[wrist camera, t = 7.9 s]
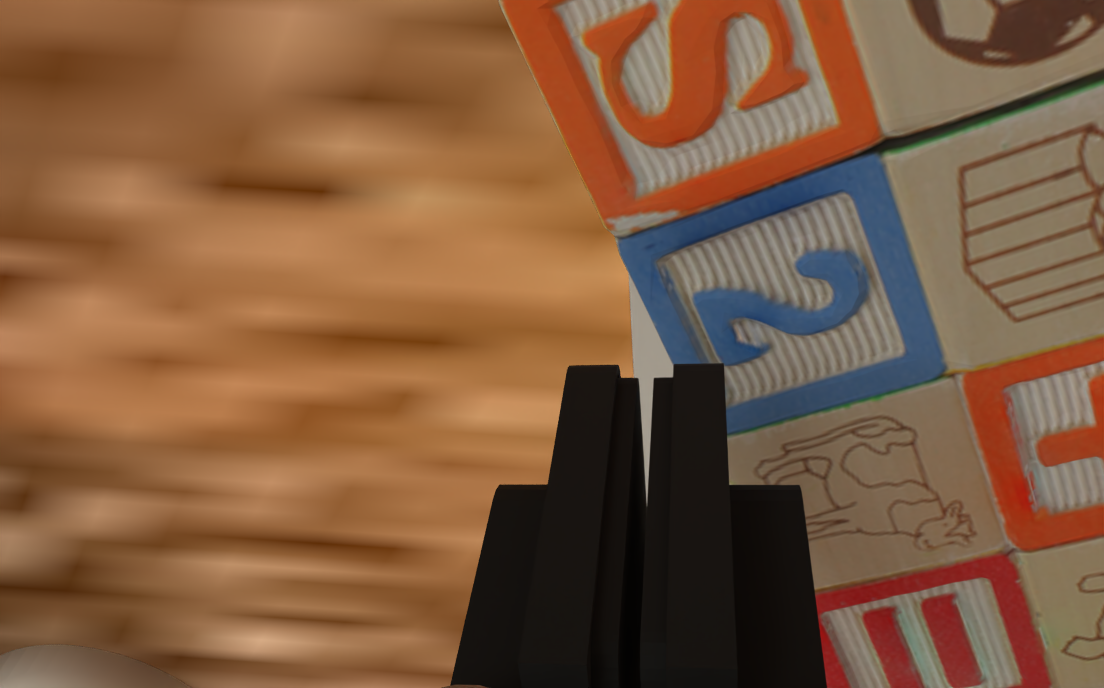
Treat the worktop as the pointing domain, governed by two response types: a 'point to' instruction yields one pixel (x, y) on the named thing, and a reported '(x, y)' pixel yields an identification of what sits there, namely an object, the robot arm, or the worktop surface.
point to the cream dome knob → (78, 669)
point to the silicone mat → (646, 365)
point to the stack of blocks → (876, 293)
